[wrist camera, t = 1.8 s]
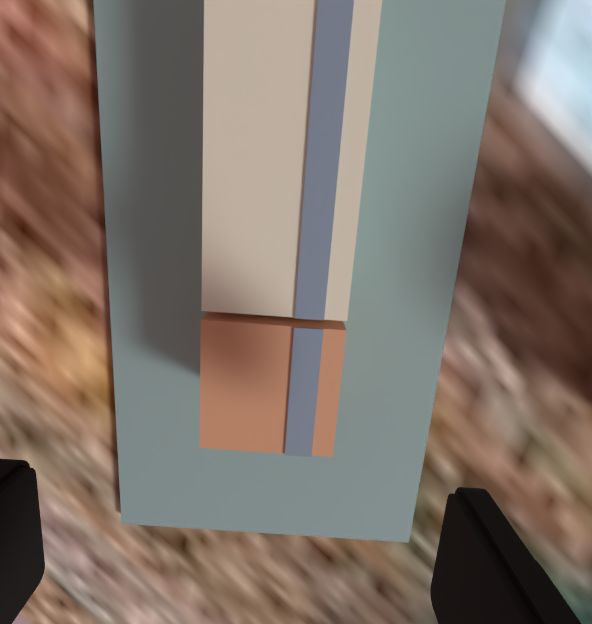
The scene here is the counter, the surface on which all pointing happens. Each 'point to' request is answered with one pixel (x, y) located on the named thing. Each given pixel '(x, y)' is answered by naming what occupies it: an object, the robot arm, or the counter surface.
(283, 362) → the stub
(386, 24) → the mat
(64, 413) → the counter surface
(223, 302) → the beige box
